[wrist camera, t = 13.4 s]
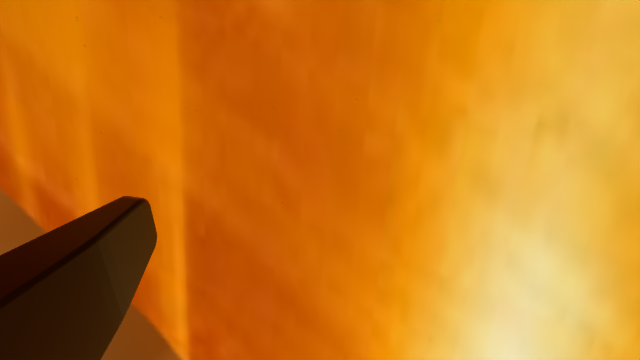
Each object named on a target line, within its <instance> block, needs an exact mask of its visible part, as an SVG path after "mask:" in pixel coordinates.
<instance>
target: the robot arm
mask: <svg viewBox="0 0 640 360" xmlns="http://www.w3.org/2000/svg"><path fill="white" fill-rule="evenodd" d="M156 241H157V232H156V228H155V224H154V219H153V215H152V211H151V207H150V204H149V202H148V201H147V200H146V199H144V198H138V197H131V196H123V197H121V198H119V199H117V200H114V201H112V202H110V203H108V204H106V205H104V206H102V207H100V208H98V209H96V210H94V211H92V212H89V213H87V214H85V215H83V216H81V217H79V218H77V219H75V220H73V221H71V222H69V223H67V224H65V225H62V226H60V227H58V228H56V229H54V230H52V231H50V232H48V233H46V234H44V235H42V236H40V237H37V238H36V239H33V240H31V241H29V242H27V243H25V244H23V245H21V246H19V247H17V248H15V249H13V250H10V251H9V252H6V253H4V254H2V255H0V360H101V358H102V357H103V355H104V353H105V351H106V350H107V348H108V346H109V344H110V343H111V341H112V339H113V337H114V335H115V334H116V332H117V330H118V328H119V326H120V325H121V323H122V321H123V319H124V317H125V315H126V313H127V310H128V308H129V306H130V304H131V302H132V299H133V297H134V295H135V292H136V290H137V288H138V285H139V283H140V281H141V278H142V276H143V274H144V271H145V269H146V267H147V265H148V262H149V260H150V258H151V255H152V253H153V251H154V248H155V246H156Z"/></svg>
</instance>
